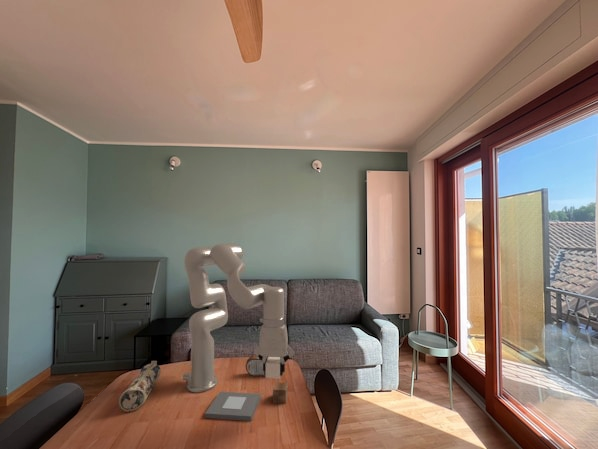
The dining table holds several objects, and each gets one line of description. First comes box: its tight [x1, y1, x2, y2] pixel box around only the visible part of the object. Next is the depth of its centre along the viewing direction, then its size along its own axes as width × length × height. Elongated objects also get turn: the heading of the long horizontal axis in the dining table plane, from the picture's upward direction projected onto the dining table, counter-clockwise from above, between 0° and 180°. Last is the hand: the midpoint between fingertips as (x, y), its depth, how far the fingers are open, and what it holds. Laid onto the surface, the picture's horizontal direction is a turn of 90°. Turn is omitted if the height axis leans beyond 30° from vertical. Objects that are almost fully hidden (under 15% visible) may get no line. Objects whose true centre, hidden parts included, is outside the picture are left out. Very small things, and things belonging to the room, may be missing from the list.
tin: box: [245, 355, 268, 377], centre depth 119 cm, size 15×3×8 cm, turn 89°
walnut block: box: [272, 381, 289, 404], centre depth 101 cm, size 5×5×5 cm
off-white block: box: [265, 357, 281, 380], centre depth 92 cm, size 5×5×5 cm
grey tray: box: [204, 391, 262, 422], centre depth 96 cm, size 17×13×2 cm
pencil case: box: [118, 360, 162, 413], centre depth 103 cm, size 22×8×10 cm, turn 13°
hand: (273, 372), depth 92 cm, fingers closed on off-white block, 5 cm apart
